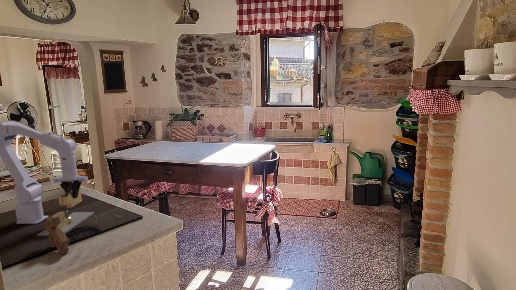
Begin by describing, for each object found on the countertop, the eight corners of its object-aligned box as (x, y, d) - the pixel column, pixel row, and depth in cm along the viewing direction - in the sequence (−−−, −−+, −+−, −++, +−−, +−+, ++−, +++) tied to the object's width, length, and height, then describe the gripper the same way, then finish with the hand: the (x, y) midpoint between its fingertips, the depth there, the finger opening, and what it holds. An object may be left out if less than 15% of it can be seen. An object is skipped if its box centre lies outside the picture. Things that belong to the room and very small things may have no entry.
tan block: (67, 211, 144) (65, 197, 143) (59, 211, 145) (56, 197, 143) (83, 200, 156) (81, 187, 155) (76, 200, 157) (74, 188, 155)
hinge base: (57, 232, 138) (54, 217, 137) (49, 232, 138) (47, 217, 137) (74, 221, 149) (72, 207, 148) (66, 221, 149) (64, 207, 148)
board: (62, 235, 136) (61, 234, 135) (37, 235, 136) (37, 234, 136) (94, 213, 159) (94, 212, 159) (73, 213, 160) (73, 212, 160)
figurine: (60, 263, 121) (45, 237, 130) (68, 261, 123) (52, 235, 131) (61, 234, 116) (45, 208, 124) (69, 232, 117) (52, 207, 126)
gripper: (46, 170, 146) (51, 201, 148) (79, 169, 145) (84, 200, 147) (57, 166, 153) (61, 195, 155) (89, 165, 152) (92, 195, 154)
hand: (73, 197), depth 151 cm, fingers closed on tan block, 2 cm apart
